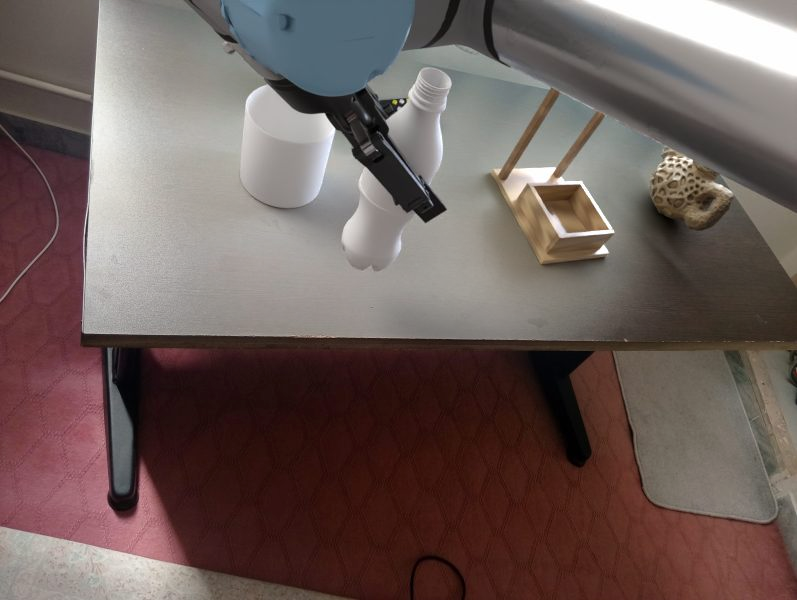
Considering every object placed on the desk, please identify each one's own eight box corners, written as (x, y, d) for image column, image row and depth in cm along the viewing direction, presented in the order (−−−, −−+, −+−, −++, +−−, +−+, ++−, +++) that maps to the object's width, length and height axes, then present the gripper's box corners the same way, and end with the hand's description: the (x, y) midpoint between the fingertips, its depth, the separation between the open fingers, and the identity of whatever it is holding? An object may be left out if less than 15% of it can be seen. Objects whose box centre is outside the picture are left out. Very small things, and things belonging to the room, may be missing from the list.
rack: (608, 256, 91) (700, 163, 75) (538, 264, 85) (621, 165, 68) (555, 171, 100) (626, 71, 84) (488, 173, 94) (551, 65, 77)
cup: (295, 143, 84) (308, 77, 74) (335, 196, 80) (353, 133, 71) (225, 160, 78) (228, 89, 68) (264, 218, 74) (274, 152, 65)
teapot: (623, 165, 108) (676, 104, 97) (671, 177, 111) (727, 118, 100) (654, 248, 97) (718, 189, 85) (707, 258, 100) (775, 203, 88)
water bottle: (338, 275, 63) (399, 95, 44) (336, 228, 67) (392, 44, 48) (396, 281, 65) (480, 112, 46) (391, 236, 69) (467, 62, 50)
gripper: (228, -6, 44) (362, 142, 64) (294, 169, 35) (426, 278, 55) (300, -67, 42) (416, 105, 62) (389, 102, 34) (490, 240, 53)
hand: (420, 186), depth 59 cm, fingers closed on water bottle, 7 cm apart
